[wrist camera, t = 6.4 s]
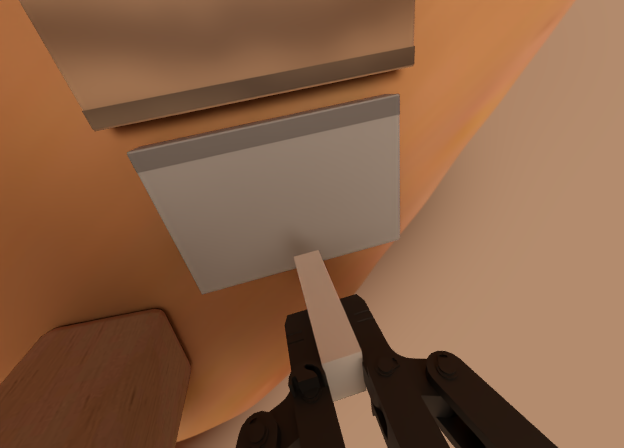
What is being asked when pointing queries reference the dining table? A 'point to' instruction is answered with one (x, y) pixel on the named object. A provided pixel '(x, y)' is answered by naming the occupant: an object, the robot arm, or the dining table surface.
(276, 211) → the plank
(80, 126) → the dining table surface
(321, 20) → the board
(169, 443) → the wooden block
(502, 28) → the dining table surface
